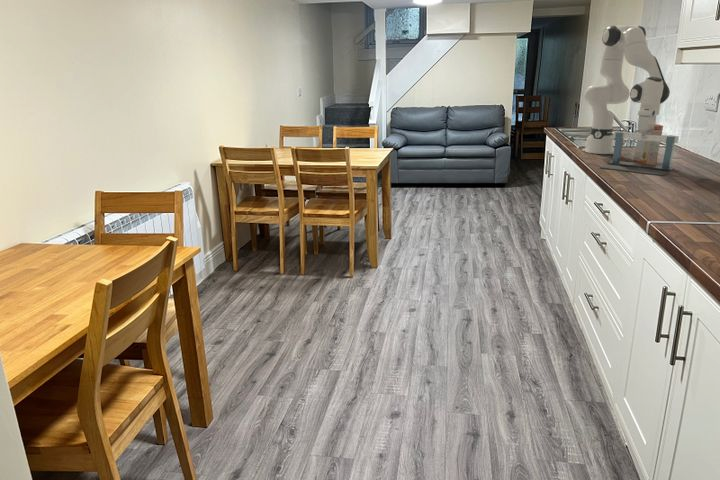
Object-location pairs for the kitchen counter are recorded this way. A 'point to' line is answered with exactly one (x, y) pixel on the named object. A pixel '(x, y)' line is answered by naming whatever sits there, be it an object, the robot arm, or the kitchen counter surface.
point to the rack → (617, 162)
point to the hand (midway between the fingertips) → (644, 138)
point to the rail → (648, 137)
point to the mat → (634, 170)
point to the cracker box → (648, 148)
